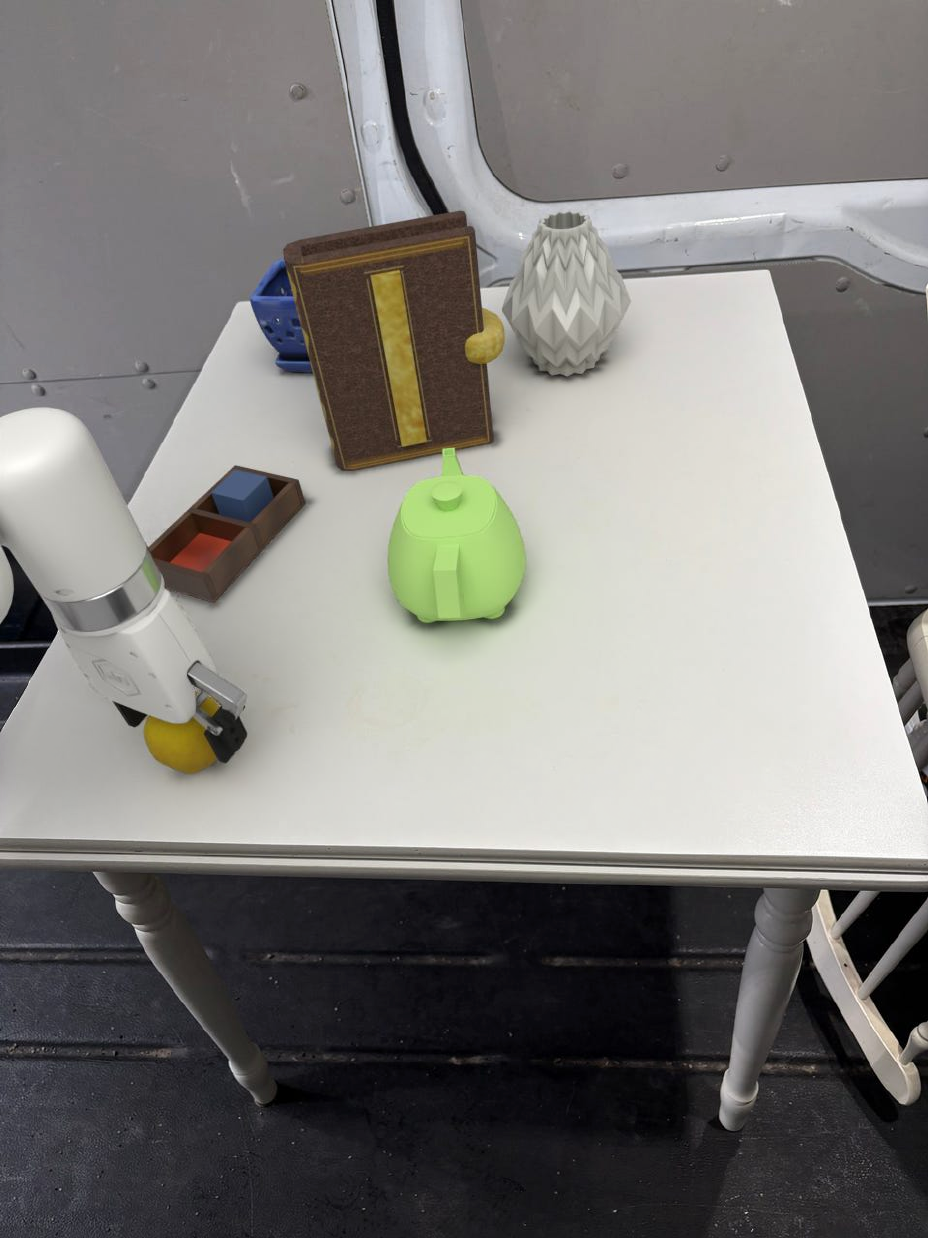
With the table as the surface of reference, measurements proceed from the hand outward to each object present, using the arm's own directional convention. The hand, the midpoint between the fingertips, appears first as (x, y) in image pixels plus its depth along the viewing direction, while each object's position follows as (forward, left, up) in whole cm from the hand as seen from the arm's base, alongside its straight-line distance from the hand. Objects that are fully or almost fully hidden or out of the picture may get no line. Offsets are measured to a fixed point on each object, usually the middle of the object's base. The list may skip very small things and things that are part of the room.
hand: (188, 731), depth 70 cm
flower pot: (-28, +64, -4) cm, 70 cm away
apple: (0, 0, -4) cm, 4 cm away
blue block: (-16, +29, -4) cm, 33 cm away
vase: (+6, +72, -4) cm, 72 cm away
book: (-4, +49, -4) cm, 49 cm away
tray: (-16, +25, -4) cm, 30 cm away
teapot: (+12, +27, -4) cm, 30 cm away
